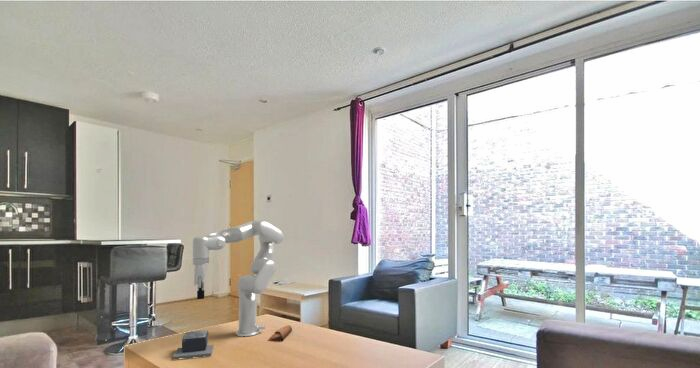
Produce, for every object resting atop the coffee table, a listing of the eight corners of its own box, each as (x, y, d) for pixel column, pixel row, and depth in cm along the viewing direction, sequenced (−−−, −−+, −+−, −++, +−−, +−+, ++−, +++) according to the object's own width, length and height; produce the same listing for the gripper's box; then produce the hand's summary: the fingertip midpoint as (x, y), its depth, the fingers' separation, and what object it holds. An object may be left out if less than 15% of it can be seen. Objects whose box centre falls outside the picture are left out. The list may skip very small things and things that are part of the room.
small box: (185, 345, 181) (181, 353, 171) (185, 332, 182) (181, 338, 172) (208, 343, 184) (205, 350, 174) (208, 330, 185) (206, 336, 175)
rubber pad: (213, 348, 182) (213, 344, 182) (210, 356, 171) (211, 353, 171) (177, 351, 178) (178, 348, 178) (172, 360, 167) (173, 356, 167)
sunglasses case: (277, 330, 210) (283, 320, 210) (287, 337, 209) (293, 327, 209) (266, 341, 192) (273, 329, 192) (278, 348, 191) (284, 337, 191)
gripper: (194, 260, 193) (194, 296, 192) (191, 263, 179) (190, 302, 178) (210, 259, 195) (209, 294, 194) (207, 262, 181) (207, 301, 180)
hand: (200, 298), depth 186 cm, fingers closed
